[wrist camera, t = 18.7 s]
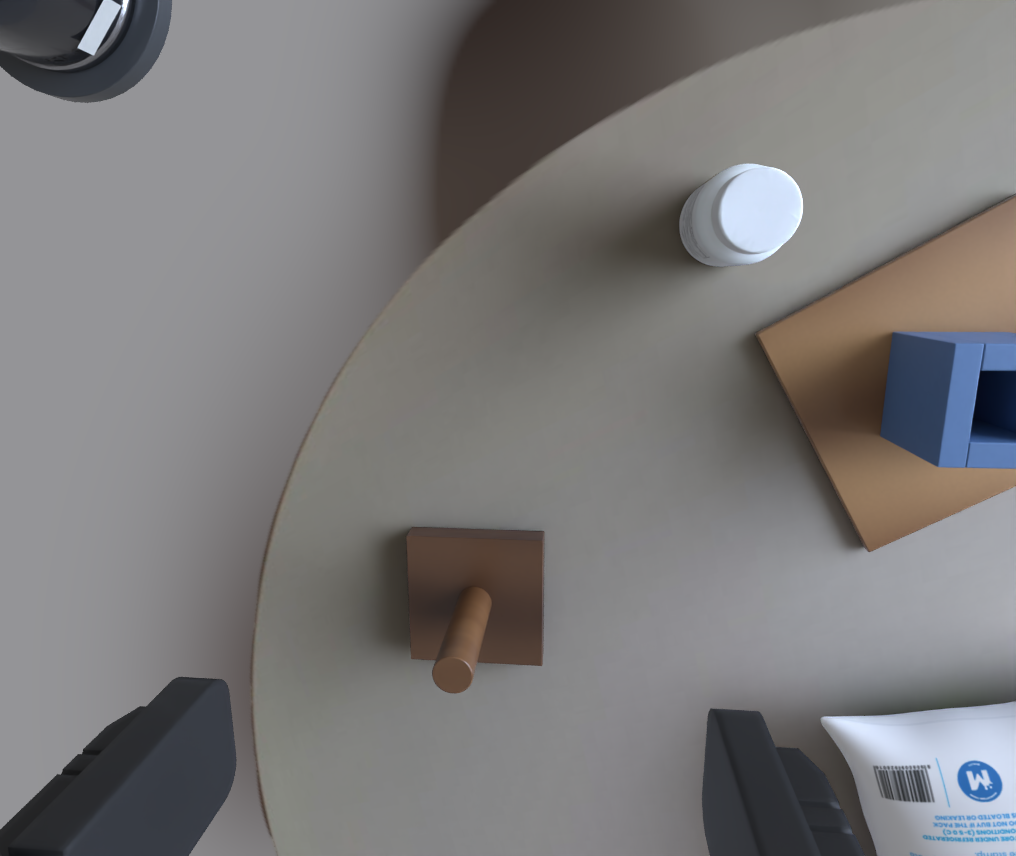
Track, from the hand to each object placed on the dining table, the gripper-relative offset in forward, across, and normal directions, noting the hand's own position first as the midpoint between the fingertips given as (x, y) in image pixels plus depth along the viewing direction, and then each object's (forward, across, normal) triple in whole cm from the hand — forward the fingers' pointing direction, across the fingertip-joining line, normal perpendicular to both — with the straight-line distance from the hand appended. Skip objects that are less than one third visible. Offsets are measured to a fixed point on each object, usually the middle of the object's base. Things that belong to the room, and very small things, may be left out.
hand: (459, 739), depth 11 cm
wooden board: (+28, -21, -2) cm, 35 cm away
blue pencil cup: (+28, -21, -2) cm, 35 cm away
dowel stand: (+28, +4, +11) cm, 31 cm away
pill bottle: (+28, -9, -10) cm, 31 cm away
